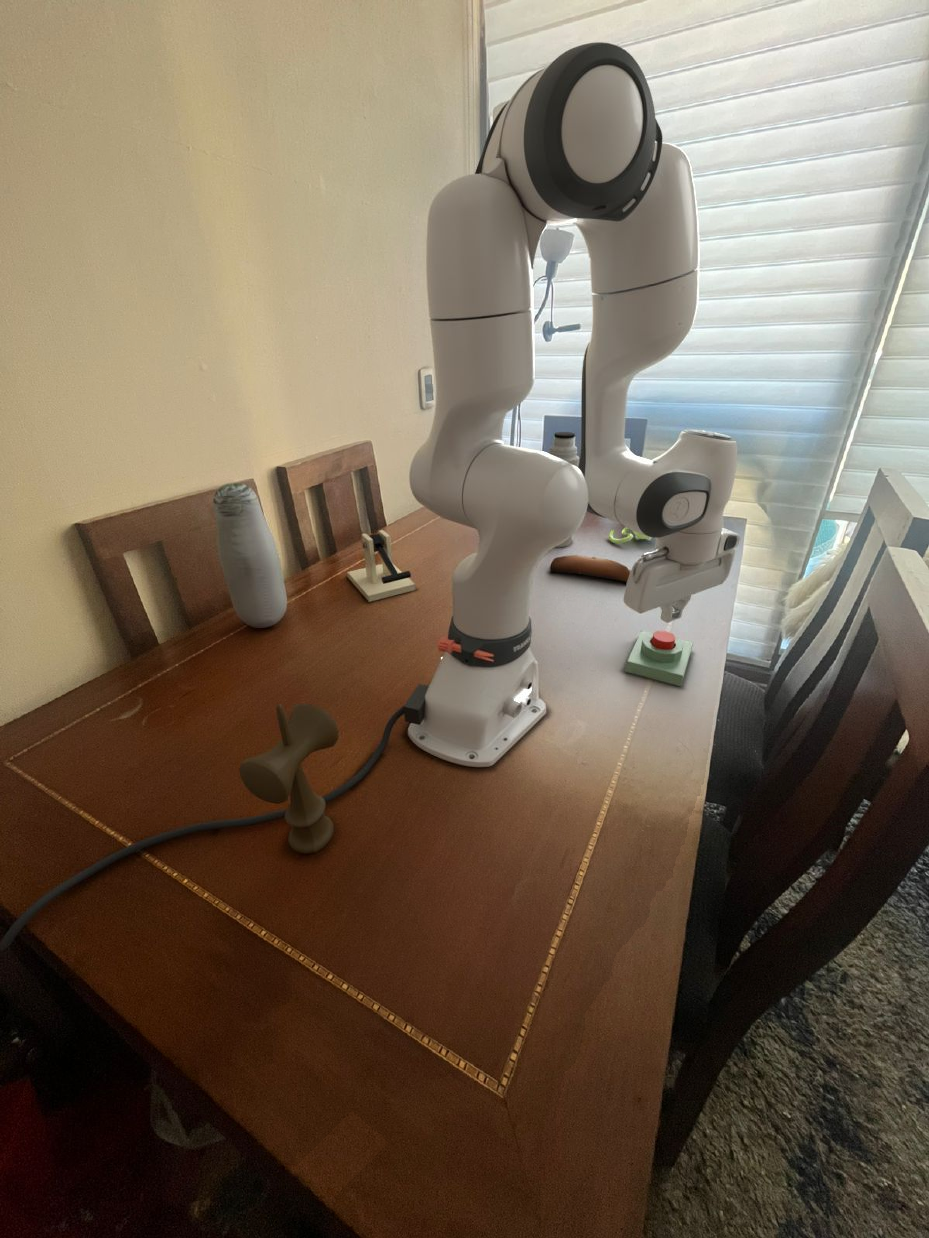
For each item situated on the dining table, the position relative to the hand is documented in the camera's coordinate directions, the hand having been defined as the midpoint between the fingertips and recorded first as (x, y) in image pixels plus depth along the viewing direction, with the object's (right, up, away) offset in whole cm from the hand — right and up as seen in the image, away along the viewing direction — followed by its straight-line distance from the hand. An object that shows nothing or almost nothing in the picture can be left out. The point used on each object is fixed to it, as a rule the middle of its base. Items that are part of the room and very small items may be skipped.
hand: (670, 619), depth 85 cm
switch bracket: (-53, +8, +33) cm, 63 cm away
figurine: (+17, +24, +58) cm, 65 cm away
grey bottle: (-74, -1, +18) cm, 76 cm away
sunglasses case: (-4, +11, +36) cm, 38 cm away
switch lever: (-51, +12, +26) cm, 59 cm away
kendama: (-52, -26, -25) cm, 63 cm away
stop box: (0, -8, +4) cm, 9 cm away
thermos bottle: (-10, +21, +53) cm, 58 cm away
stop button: (0, -4, +3) cm, 5 cm away
